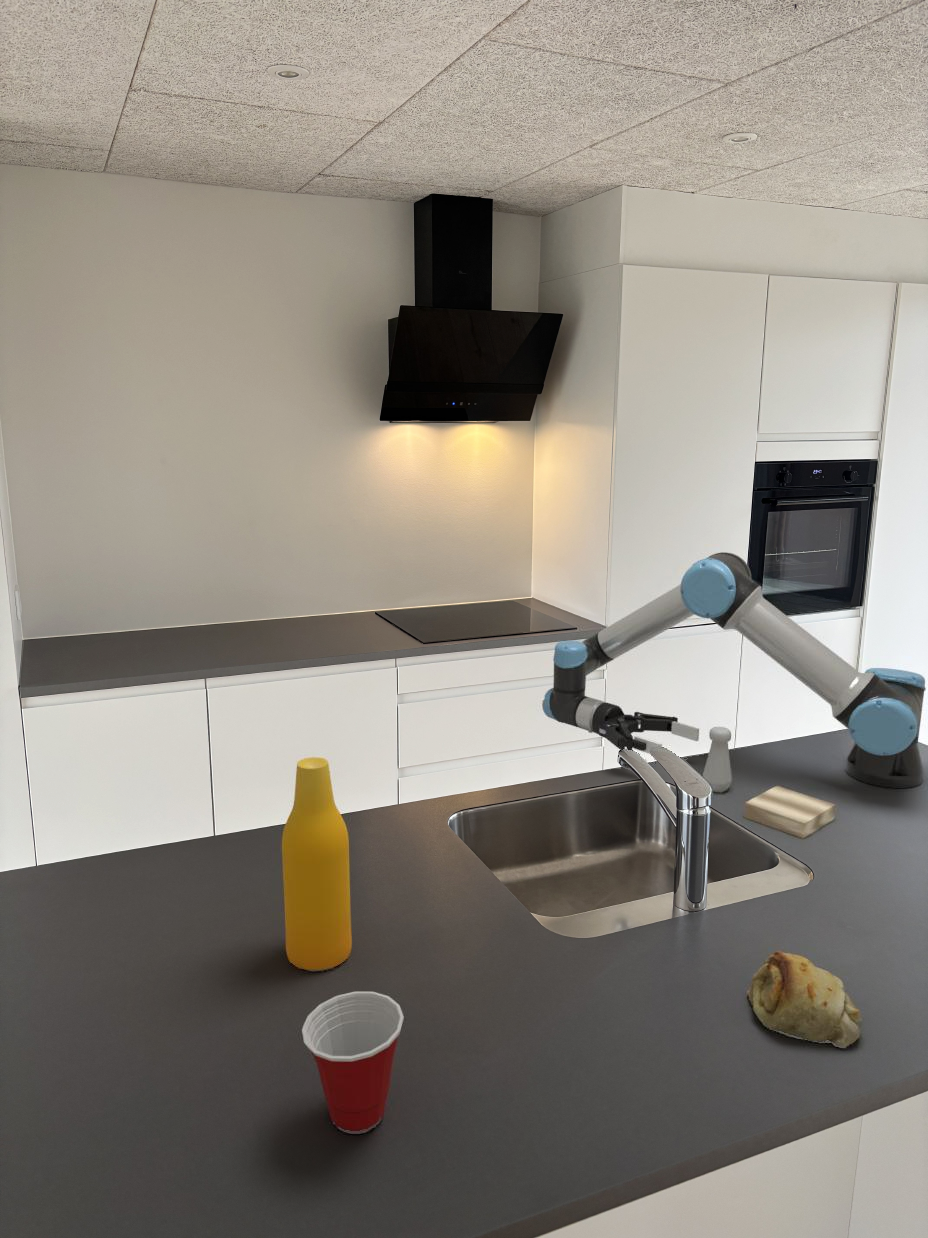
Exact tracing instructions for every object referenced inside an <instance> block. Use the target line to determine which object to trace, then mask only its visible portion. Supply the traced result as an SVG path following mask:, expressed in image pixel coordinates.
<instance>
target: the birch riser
mask: <svg viewBox="0 0 928 1238" xmlns="http://www.w3.org/2000/svg"><path fill="white" fill-rule="evenodd" d="M743 811H744V812H743V813H744V814H743V818H745V819H747V820H751V821H752V822H756V823H758V824H761V825H765V826H767V827H770V828H772V829H774V830H778V831H779V832H780V831H781V832H784V833H787V834H789V835H792V836H795V837H797V838H800V839H802V840H803V839H805V838H807V837H808V836H810V835H812V834H813V833H815V832H816V831H818V830H819V829H821V828H823V827H824V826H826V825H827V824H829V823H831V822H832V821H833V820H835V814H836V813H835V812H836V804H834V803H832V802H828V801H826V800H822V799H820V798H816V797H813V796H810V795H807V794H804V793H801V792H797V791H795V790H792V789H788V788H786V787H782V786H779V785H776V786H774V787H772V788H770V789H768V790H766V791H764V792H762V793H761V794H759V795H756V796H755V797H753V798H751V799H749V800H748V801H746V802H744V810H743Z"/></svg>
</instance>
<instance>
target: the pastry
mask: <svg viewBox="0 0 928 1238" xmlns="http://www.w3.org/2000/svg"><path fill="white" fill-rule="evenodd" d="M750 985H751V987H750V988H749V989H748V990H747V991H746V993H747V996H748V1000H750V1001H749V1003H750V1002H751V1004H752V1005H751V1004H750V1005H751V1006H752V1010H753V1012H754V1013H755V1016H757V1018H758V1020H759V1021H760V1022H762V1023H761V1024H762V1025H763V1027H765V1028H766V1027H767V1028H766V1029H768V1028H769V1029H772V1030H777V1031H782V1032H784V1033H787V1034H789V1035H794V1036H797V1037H801V1038H803V1039H807V1040H810V1041H817V1042H823V1041H824V1042H825V1041H826V1040H829V1041H831V1042H833V1043H835V1044H836V1045H838V1046H843V1047H846V1046H848V1045H850V1044H851V1045H853V1044H854V1043H855V1042H856V1041H857V1040H858V1039H860V1036H861V1031H862V1030H861V1027H862V1023H863V1019H862V1014H861V1012H860V1011H859V1009H858V1008H856V1006H855V1003H854V1002H853V1001H852V997H851V996H849V995H848V993H846V989H845V986H844V983H843V981H842V980H841V979H840V978H839V977H837V976H836V975H835V974H832V973H830V972H829V971H828V970H825V969H824V968H823V969H822V968H820V967H817V966H816V965H814V963H813V962H812V961H810V960H809V959H808V958H806V957H804V956H802V955H798V954H793V953H789V952H783V951H780V950H776V951H774V953H772V954H771V955H770V956H769V957H767V959H766V960H764V962H763V964H762V967H760V968H759V969H758V970H757V971H756V973H754V974H752V978H751V979H750ZM769 1029H768V1030H769ZM851 1045H850V1046H851Z"/></svg>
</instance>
